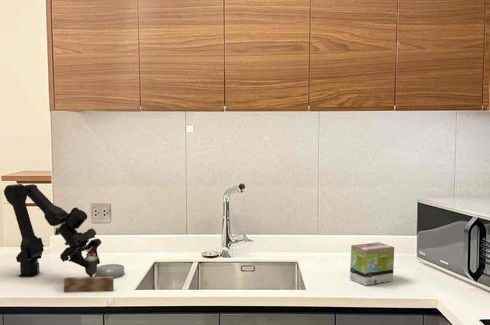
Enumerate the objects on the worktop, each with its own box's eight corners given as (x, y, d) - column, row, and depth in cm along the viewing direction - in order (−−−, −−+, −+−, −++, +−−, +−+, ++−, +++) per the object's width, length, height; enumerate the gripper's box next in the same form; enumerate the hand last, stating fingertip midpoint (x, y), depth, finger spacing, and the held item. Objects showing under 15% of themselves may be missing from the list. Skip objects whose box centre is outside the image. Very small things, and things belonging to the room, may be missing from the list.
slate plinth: (92, 279, 196) (91, 272, 196) (98, 271, 208) (98, 264, 208) (121, 278, 197) (121, 271, 197) (126, 270, 209) (126, 263, 209)
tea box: (365, 286, 189) (366, 250, 188) (349, 279, 198) (350, 244, 197) (394, 281, 196) (394, 246, 195) (376, 275, 204) (377, 241, 204)
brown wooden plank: (64, 292, 180) (63, 279, 180) (65, 290, 182) (65, 277, 182) (112, 290, 182) (112, 278, 182) (113, 289, 184) (113, 276, 184)
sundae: (94, 287, 186) (94, 249, 185) (79, 286, 188) (78, 248, 187) (103, 282, 193) (102, 245, 192) (87, 281, 194) (87, 244, 193)
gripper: (65, 227, 181) (89, 258, 178) (97, 219, 199) (119, 247, 195) (49, 245, 185) (72, 277, 181) (82, 236, 202) (104, 264, 199)
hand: (93, 265), depth 189 cm, fingers closed on sundae, 6 cm apart
